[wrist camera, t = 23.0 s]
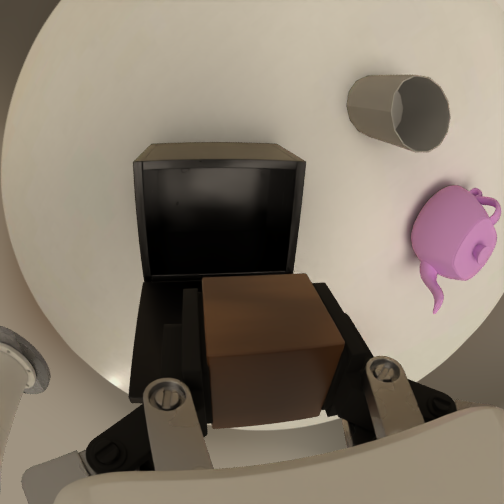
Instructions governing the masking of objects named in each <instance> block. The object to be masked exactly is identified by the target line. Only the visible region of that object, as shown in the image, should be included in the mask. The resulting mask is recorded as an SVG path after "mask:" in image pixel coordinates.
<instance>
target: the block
mask: <svg viewBox="0 0 504 504" xmlns="http://www.w3.org/2000/svg"><path fill="white" fill-rule="evenodd" d="M202 295H203V312H204V328H205V343H206V356H207V365H208V366H209V373H210V389H211V404H212V417H213V423H211V424H212V428H213V429H220V428H234V427H245V426H255V425H264V424H272V423H280V422H287V421H294V420H300V419H306V418H312V417H317V416H319V415H320V412H321V409H322V406H323V403H324V401H325V398H326V396H327V393H328V390H329V387H330V385H331V382H332V379H333V376H334V374H335V371H336V368H337V365H338V362H339V359H340V356H341V353H342V352H343V349H344V345H345V341H344V339H343V338H342V336H341V334H340V332H339V330H338V329H337V327H336V325H335V323H334V321H333V320H332V318H331V316H330V314H329V313H328V311H327V309H326V307H325V305H324V304H323V302H322V300H321V298H320V297H319V295H318V293H317V291H316V290H315V288H314V286H313V284H312V283H311V281H310V279H309V277H308V276H307V274H305V273H302V274H281V275H257V276H230V277H203V278H202Z"/></svg>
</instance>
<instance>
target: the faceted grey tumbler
mask: <svg viewBox="0 0 504 504" xmlns="http://www.w3.org/2000/svg"><path fill="white" fill-rule="evenodd" d="M347 110H348V114H349V118H350V121H351V122H352V123H353V124H354V126H355V127H356V129H357V130H358V131H359V132H361V133H363V134H365V135H367V136H369V137H371V138H375V139H378V140H381V141H384V142H387V143H390V144H393V145H396V146H399V147H402V148H405V149H408V150H410V151H413V152H430V151H432V150H433V149H435V148H436V147H438V146H440V144H441V143H442V141H443V139H444V138H445V136H446V135H447V133H448V128H449V123H450V110H449V103H448V100H447V98H446V96H445V94H444V92H443V90H442V88H441V87H440V86H439V85H438V84H437V83H436V82H434V81H433V80H432V79H431V78H429V77H425V76H419V75H371V76H366V77H364V78H362V79H360V80H357V81H356V82H355V84H354V85H353V87H352V88H351V89H350V91H349V94H348V100H347Z"/></svg>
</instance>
